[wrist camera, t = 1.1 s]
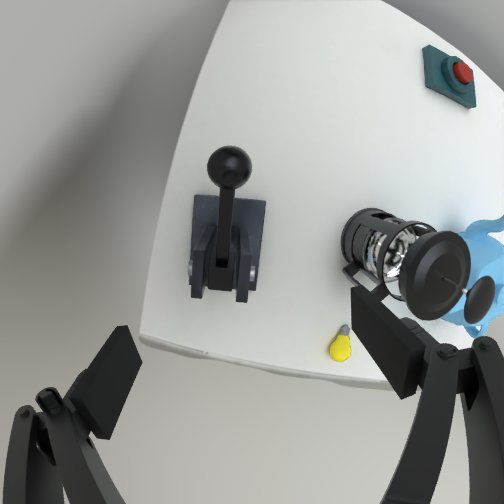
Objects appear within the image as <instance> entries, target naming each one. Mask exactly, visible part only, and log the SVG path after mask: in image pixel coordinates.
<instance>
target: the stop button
mask: <svg viewBox="0 0 504 504" xmlns="http://www.w3.org/2000/svg"><path fill="white" fill-rule="evenodd" d="M453 72H454V75H455V77H456V78H457V79H458V81H459V82H460V83H463V84H465V83H468V82H471V81H472V80H473V74H472V71H471V69H470V68H469V66H468V65H467V64H465V63H464V62H459V63H457V64H455V65H453Z"/></svg>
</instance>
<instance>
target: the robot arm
mask: <svg viewBox="0 0 504 504" xmlns="http://www.w3.org/2000/svg"><path fill="white" fill-rule="evenodd" d="M351 324H352V330H353V331H354V333H355V334H356V336H357V337H358V338H359V340H360V341H361V343H362V344H363V345H364V347H365V348H366V350H367V351H368V352H369V354H370V355H371V357H372V358H373V360H374V361H375V362H376V364H377V365H378V367H379V368H380V370H381V371H382V373H383V374H384V375H385V377H386V378H387V380H388V381H389V383H390V384H391V386H392V387H393V389H394V390H395V392H396V393H397V395H398V396H399V397H400V399H401V400H402V399H404V398H407V397H409V396H412V395H414V394H416V390H417V386H418V385H419V386H420V388H421V389H422V392H421V396H420V399H419V403H418V407H417V410H416V414H415V417H414V421H413V424H412V427H411V430H410V433H409V436H408V439H407V442H406V445H405V447H404V450H403V453H402V455H401V458H400V460H399V463H398V465H397V468H396V470H395V472H394V475H393V477H392V479H391V481H390V483H389V486H388V488H387V490H386V492H385V494H384V496H383V498H382V500H381V502H380V504H430V502H431V499H432V496H433V493H434V490H435V487H436V484H437V481H438V477H439V474H440V471H441V467H442V464H443V459H444V456H445V452H446V448H447V443H448V439H449V434H450V429H451V423H452V418H453V412H454V405H455V398H456V394H459V393H460V397H461V402H462V408H463V414H464V421H465V428H466V436H467V446H468V458H469V477H470V478H469V479H470V498H469V504H504V357H503V355H502V353H501V350H500V348H499V346H498V344H497V342H496V341H495V340H494V339H492V338H490V337H487V336H480V337H477V338H476V339H474V341H473V343H472V347H471V348H467V349H461V350H458V349H457V348H456V347H455V346H453V345H452V344H447V343H442V344H440V343H439V342H437V341H436V340H435V339H434V338H433V337H432V336H431V335H430V334H429V333H428V332H427V331H425V330H424V329H423V328H422V327H420V325H419V324H418V323H417V322H416V321H414V320H412V319H409V318H407V317H405V318H402V319H399V318H398V317H397V316H395V315H394V314H393V313H392V312H391V311H390V310H389V309H388V308H387V307H386V306H385V305H384V304H383V303H382V302H381V301H380V300H378V299H377V298H376V297H375V296H374V295H373V294H372V293H371V292H370V291H369V290H368V289H366V288H365V287H364V286H363V285H360V286H356V287H352V288H351ZM141 365H142V360H141V358H140V355H139V353H138V351H137V348H136V346H135V343H134V341H133V338H132V336H131V333H130V331H129V328H128V326H127V325H125V326H117V327H116V328H115V330H114V331H113V332H112V334H111V335H110V337H109V338H108V339H107V341H106V342H105V344H104V345H103V347H102V348H101V349H100V351H99V352H98V354H97V355H96V357H95V358H94V359H93V361H92V362H91V364H90V366H89V367H88V368H87V369H85V370H84V371H82V372H81V373H80V374H79V375H78V377H77V378H76V380H75V382H74V383H73V384H72V386H71V387H70V389H69V390H68V392H67V393H66V395H65V396H64V398H63V399H62V398H61V396H60V394H59V393H58V391H57V390H56V388H53V387H48V388H45V389H43V390H42V391H40V392H39V393H38V394H37V396H36V399H35V400H36V402H37V403H38V405H39V406H40V408H41V409H42V411H43V412H38V413H36V412H35V410H34V409H33V407H32V406H30V405H25V406H22V407H21V408H19V409H18V411H17V412H16V414H15V417H14V421H13V426H12V430H11V435H10V441H9V446H8V452H7V459H6V467H5V475H4V487H3V504H64V497H63V486H64V489H65V492H66V495H67V497H68V500H69V502H70V504H126V503H125V502H124V500H123V498H122V497H121V495H120V494H119V492H118V490H117V488H116V487H115V485H114V483H113V481H112V479H111V478H110V476H109V474H108V472H107V470H106V468H105V466H104V464H103V462H102V460H101V458H100V456H99V454H98V452H97V450H96V448H95V446H94V443H93V442H92V440H91V438H90V437H89V434H90V431H92V432H93V434H94V435H95V436H96V438H98V439H107V440H110V438H111V435H112V433H113V430H114V428H115V425H116V423H117V420H118V418H119V416H120V413H121V411H122V408H123V406H124V403H125V401H126V399H127V396H128V394H129V392H130V390H131V387H132V385H133V383H134V380H135V378H136V376H137V374H138V371H139V369H140V367H141ZM36 445H37V446H36ZM62 484H63V485H62Z"/></svg>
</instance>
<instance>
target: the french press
mask: <svg viewBox="0 0 504 504" xmlns="http://www.w3.org/2000/svg"><path fill="white" fill-rule="evenodd" d="M417 224H420V225H424V226H425V227H427V228H428V229H429V230H428V229H425V228H422V227H419V226H416V225H417ZM360 225H363V226H365V227H368V228H370V230H369V232H368V234H367V235H366V238H365V240H364V244H363V249H362V260H363V263H362V262H360V261H359V260H357V259H356V257H355V256H354V254H353V250H352V247H353V240H354V236H355V234H356V231H357V229H358V228H359V227H360ZM416 236H419V238H418V239H416ZM341 247H342V252H343V255H344V257H345V259H346V261H347V262H348V263H349V264H348V265H346V266H345V267H344V268H343V269H342V271H343V273H344V274H345V276H346V277H347V279H348V280H349V281H350V282H351V283H352V284H353V285H355V286H360V285H361V284H360V283H359V282H358V281H357V280H355V279H354V278H353V277H352V276H353V275H355V274H356V273H357V272H358V271H361V272H362V273H363V274H365V275H366V276H367V277H368V278H370V279H371V280H372V281H373V282H375V283H376V284H377V285H378V286H377V287H376V288H374V289H373V290H372V291H370V292H371V293H372V294H373V295H374V296H375V297H376V298H377V299H378V300H380V301H382V300H383V299H384V298H385V297H386V296H388V295H391V296H392V297H393V298H394V299H397V300H399V301H404V302H406V304H407V306H408V308H409V310H410V311H411V313H412V314H413V315H415V316H416V317H417V318H419V319H422V320H428V321H430V320H435V319H438V318H440V317H442V316H444V315H445V314H447V313H448V312H449V311H450V310H451V309H452V308H453V307H454V306H455V305H456V304H457V303H458V301H459V300H460V298H461V297H462V295H463V293H465V294H466V301H465V305H464V318H465V321H466V322H467V323H469V324H476V323H478V322H479V321H481V320H482V319H483V318H484V317H485V315H486V314H487V313H488V311H489V309H490V308H491V305H492V303H493V300H494V296H495V282H494V280H493V278H492V277H490V276H483V277H481V278H480V279H478V280H477V281H476V282H475V284H474V285H473V286H472V288H471V289H469V290H466V287H467V284H468V281H469V277H470V271H471V256H470V251H469V248H468V246H467V243H466V242H465V240H464V239H463V238H462V237H461V236H460V235H458V234H457V233H454V232H451V231H441V232H437V231H436V230H435V229H434V228H433V227H431V226H430V225H428V224H425V223H422V222H418V221H407V222H406V221H404V220H403V219H400V218H397V217H395V216H394V215H392V214H389V213H386V212H384V211H383V210H380V209H377V208H367V209H363V210H361V211H359V212H357V213H356V214H354V215H353V216H352V217H351V218H350V219H349V221H348V222H347V224H346V225H345V227H344V230H343V233H342V237H341ZM398 279H399V290H400V293H401V296H398V295H394V294H391V293H390V291H389V290H388V289H387V286H386V284H385V283H389V282H393V281H396V280H398Z"/></svg>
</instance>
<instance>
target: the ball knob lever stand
mask: <svg viewBox="0 0 504 504" xmlns="http://www.w3.org/2000/svg"><path fill="white" fill-rule="evenodd" d="M265 206H266V201H264V200H254V199H244V198H234V206H233V216H232V227H231V238H230V249H229V251H231V252H235V264H234V276H233V285H232V289H236V302H244V303H247V299H248V290H253V291H256V283H257V275H258V267H259V258H260V249H261V241H262V232H263V223H264V215H265ZM218 210H219V196H211V195H198V194H196V195H195V196H194V208H193V222H192V237H191V255H190V261H189V265H188V275H190V277H189V285H191V298H200V299H202V296H203V293H204V289H205V286H207V287H208V267H209V261H210V255H211V250H216V245H217V226H218Z"/></svg>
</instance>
